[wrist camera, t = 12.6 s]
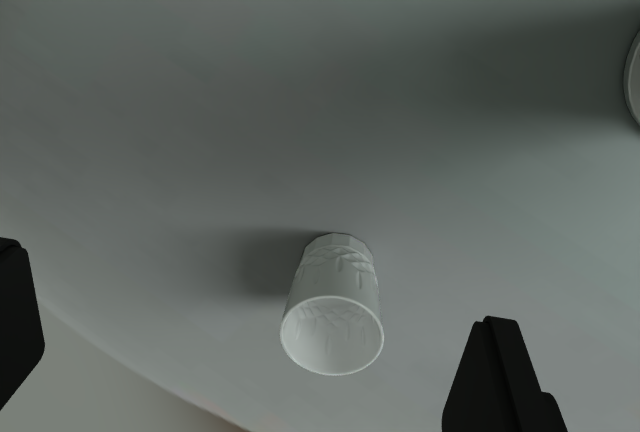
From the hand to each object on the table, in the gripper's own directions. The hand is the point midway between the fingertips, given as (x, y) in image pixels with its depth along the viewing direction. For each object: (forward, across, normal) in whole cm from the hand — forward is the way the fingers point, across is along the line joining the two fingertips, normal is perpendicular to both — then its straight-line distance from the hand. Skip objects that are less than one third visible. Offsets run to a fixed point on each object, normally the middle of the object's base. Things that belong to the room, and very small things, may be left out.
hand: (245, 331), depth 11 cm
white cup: (+32, -2, +19) cm, 37 cm away
